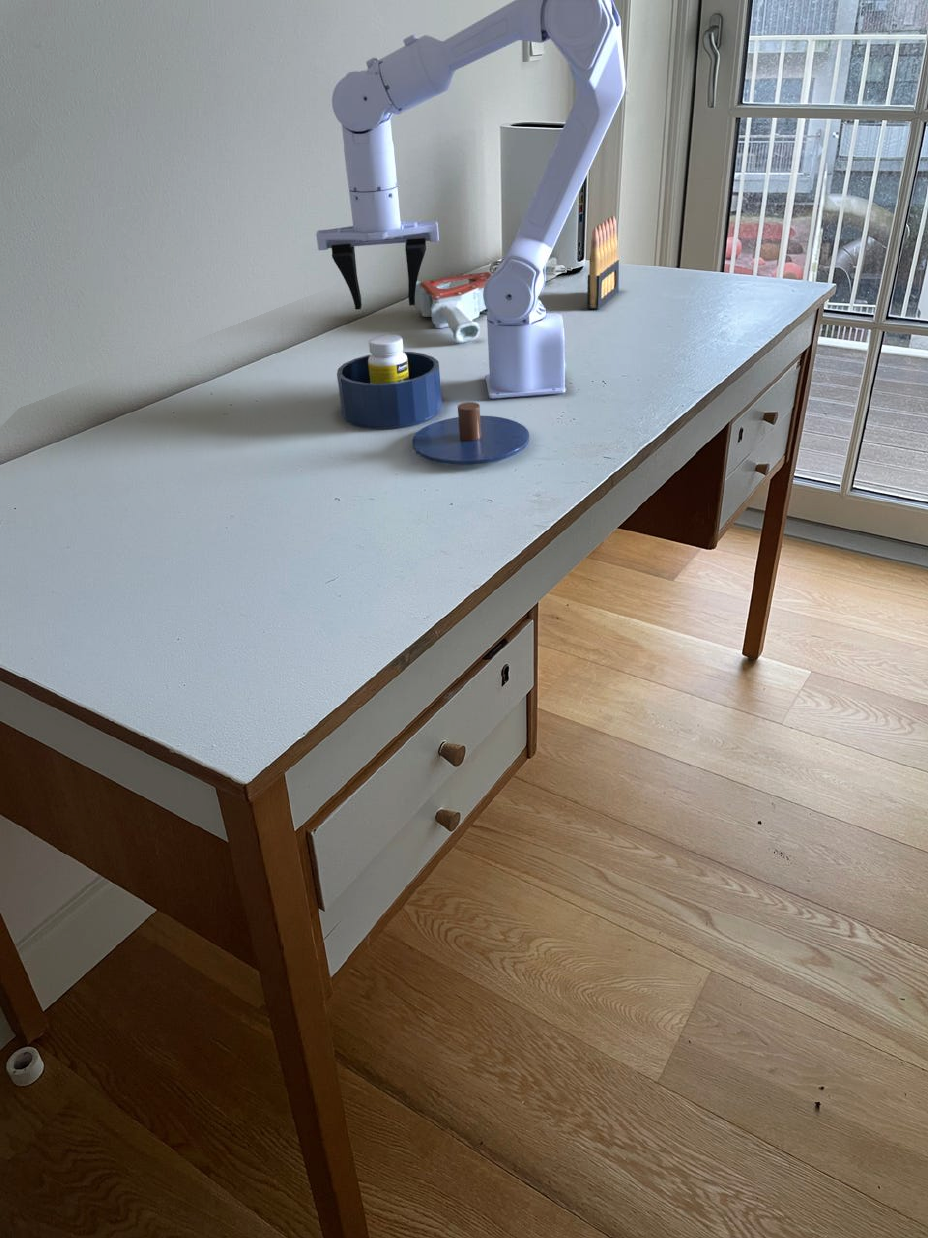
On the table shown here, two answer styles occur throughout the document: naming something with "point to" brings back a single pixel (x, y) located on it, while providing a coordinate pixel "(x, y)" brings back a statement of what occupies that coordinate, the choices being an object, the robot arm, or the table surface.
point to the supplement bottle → (387, 360)
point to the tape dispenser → (453, 304)
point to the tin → (390, 394)
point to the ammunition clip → (603, 265)
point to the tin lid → (470, 438)
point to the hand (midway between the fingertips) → (385, 305)
